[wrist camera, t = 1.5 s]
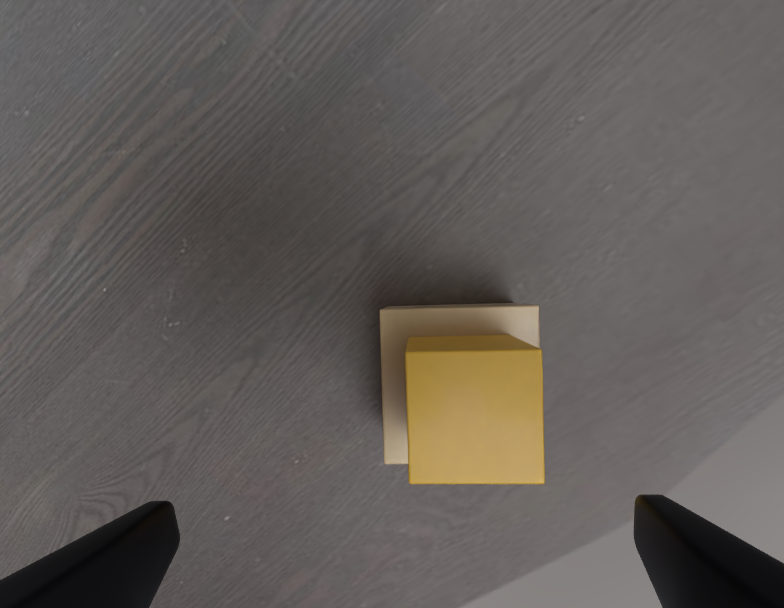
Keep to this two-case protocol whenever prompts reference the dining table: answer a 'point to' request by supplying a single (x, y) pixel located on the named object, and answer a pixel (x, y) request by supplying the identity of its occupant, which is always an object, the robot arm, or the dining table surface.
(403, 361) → the birch block
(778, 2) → the dining table surface
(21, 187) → the dining table surface
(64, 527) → the dining table surface
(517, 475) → the mustard cube
